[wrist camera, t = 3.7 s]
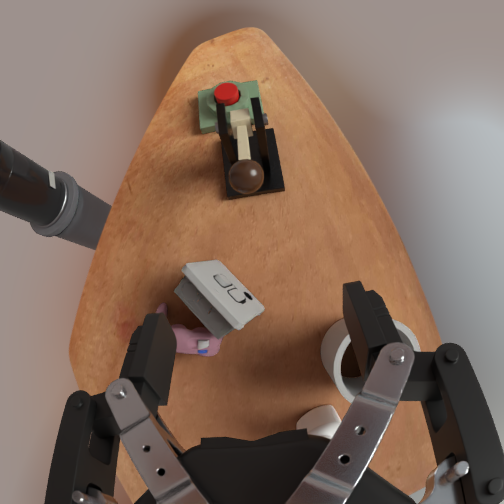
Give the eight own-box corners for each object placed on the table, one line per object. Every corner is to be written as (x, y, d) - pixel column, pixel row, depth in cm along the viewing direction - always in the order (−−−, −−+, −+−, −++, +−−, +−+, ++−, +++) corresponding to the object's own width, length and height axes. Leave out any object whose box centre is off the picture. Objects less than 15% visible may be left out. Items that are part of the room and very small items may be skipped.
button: (217, 108, 43) (214, 101, 42) (215, 91, 44) (213, 84, 42) (240, 103, 43) (238, 97, 41) (238, 87, 44) (236, 80, 42)
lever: (267, 198, 28) (263, 170, 25) (232, 203, 28) (225, 177, 26) (256, 126, 36) (252, 104, 33) (230, 130, 36) (225, 108, 33)
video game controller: (163, 327, 43) (142, 353, 36) (160, 299, 42) (138, 323, 35) (229, 337, 42) (217, 366, 35) (229, 308, 41) (216, 335, 34)
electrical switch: (267, 308, 41) (254, 314, 32) (239, 335, 41) (220, 347, 32) (218, 259, 43) (194, 251, 33) (193, 285, 43) (163, 284, 34)
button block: (202, 134, 46) (196, 122, 43) (200, 97, 48) (194, 84, 44) (265, 122, 46) (263, 109, 42) (258, 86, 47) (255, 73, 44)
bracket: (284, 190, 43) (283, 146, 31) (228, 199, 44) (206, 159, 31) (273, 132, 45) (268, 77, 33) (222, 140, 46) (201, 89, 33)
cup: (347, 395, 37) (368, 425, 25) (306, 346, 39) (314, 361, 27) (397, 351, 37) (435, 364, 26) (359, 301, 39) (386, 298, 28)
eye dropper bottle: (296, 405, 38) (299, 440, 26) (337, 403, 37) (355, 436, 25) (296, 433, 37) (298, 475, 25) (336, 431, 36) (352, 470, 25)
